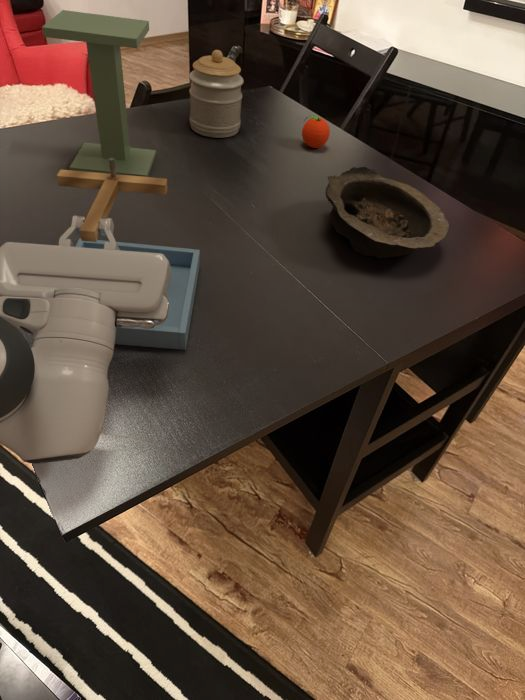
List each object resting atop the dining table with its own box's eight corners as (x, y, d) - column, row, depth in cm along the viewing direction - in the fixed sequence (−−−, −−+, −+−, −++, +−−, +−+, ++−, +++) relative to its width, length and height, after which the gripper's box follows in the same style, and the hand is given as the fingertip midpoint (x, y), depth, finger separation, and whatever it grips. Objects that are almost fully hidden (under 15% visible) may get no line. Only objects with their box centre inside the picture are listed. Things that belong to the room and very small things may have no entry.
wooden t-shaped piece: (26, 236, 58) (17, 207, 55) (62, 179, 69) (56, 152, 66) (150, 246, 59) (148, 218, 56) (167, 188, 70) (166, 162, 67)
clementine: (291, 142, 122) (295, 113, 117) (309, 136, 125) (314, 108, 120) (313, 155, 118) (319, 125, 113) (332, 149, 122) (338, 120, 117)
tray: (44, 338, 68) (39, 320, 66) (82, 255, 82) (79, 238, 79) (185, 350, 70) (185, 333, 67) (199, 266, 83) (199, 249, 81)
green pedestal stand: (70, 171, 100) (41, 26, 81) (85, 146, 109) (62, 9, 90) (147, 179, 101) (136, 38, 83) (156, 154, 110) (148, 20, 91)
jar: (187, 116, 126) (186, 39, 113) (236, 118, 128) (241, 43, 116) (191, 138, 117) (191, 57, 104) (243, 139, 120) (249, 61, 107)
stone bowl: (294, 209, 99) (304, 166, 93) (392, 205, 108) (408, 166, 102) (350, 282, 84) (368, 236, 77) (459, 270, 93) (483, 228, 87)
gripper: (162, 321, 54) (174, 212, 58) (-23, 309, 53) (0, 198, 57) (169, 336, 60) (179, 237, 64) (3, 325, 59) (22, 225, 63)
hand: (93, 218), depth 60 cm, fingers closed on wooden t-shaped piece, 2 cm apart
